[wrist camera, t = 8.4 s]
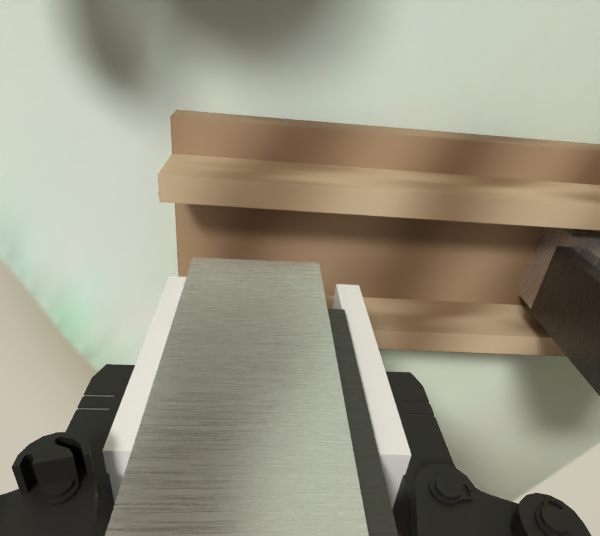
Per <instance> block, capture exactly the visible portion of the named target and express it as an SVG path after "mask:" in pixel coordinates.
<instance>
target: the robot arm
mask: <svg viewBox="0 0 600 536" xmlns="http://www.w3.org/2000/svg"><path fill="white" fill-rule="evenodd" d="M185 280H186V277H178V276H169V278H168V281H167V283H166V286H165V288H164V291H163V294H162V296H161V299H160V302H159V304H158V307H157V309H156V312H155V315H154V317H153V320H152V322H151V325H150V328H149V330H148V333H147V336H146V338H145V341H144V343H143V346H142V349H141V351H140V354H139V357H138V359H137V362H136V364H135V365H112V364H106V365H105V366H104V367H103V368H102V369H101V370H100V371H99V372H98V373H97V374H96V375H94V376H93V377H92V379H91V381H90V383H89V385H88V387H87V389H86V391H85V393H84V397H82V399H81V401H80V403H79V405H78V410H76V412H75V414H74V416H73V418H72V420H71V422H70V424H69V426H68V428H67V430H66V432H60V433H58V432H57V433H54V434H51V435H47V436H43V437H41V438H40V439H38V440H36V441H34V442H33V443H31V444H29V445H28V446H27V447H26V448H25V449H24V450H23V451H22V452H21V453H20V454H19V455H18V456H17V458H16V460H15V462H14V464H13V466H12V469H13V472H14V475H15V477H16V481H17V484H18V487H19V489H17V490H15V491H12V492H9V493H6V494H2V495H0V536H105V533H106V530H107V527H108V524H109V521H110V517H111V514H112V511H113V508H114V505H115V502H116V498H117V495H118V492H119V489H120V486H121V483H122V479H123V476H124V473H125V470H126V467H127V464H128V461H129V457H130V454H131V451H132V448H133V445H134V442H135V438H136V435H137V432H138V429H139V426H140V423H141V419H142V416H143V413H144V410H145V407H146V404H147V400H148V397H149V394H150V391H151V388H152V385H153V381H154V378H155V375H156V372H157V369H158V366H159V362H160V359H161V356H162V353H163V350H164V347H165V343H166V340H167V337H168V334H169V331H170V328H171V325H172V321H173V318H174V315H175V312H176V309H177V306H178V302H179V299H180V296H181V293H182V290H183V287H184V283H185ZM333 309H345V314H346V318H347V322H348V326H349V331H350V335H351V339H352V343H353V347H354V352H355V356H356V360H357V364H358V368H359V373H360V377H361V381H362V385H363V389H364V394H365V398H366V402H367V406H368V410H369V415H370V419H371V423H372V427H373V432H374V436H375V440H376V444H377V448H378V453H379V457H380V461H381V465H382V469H383V474H384V478H385V482H386V486H387V490H388V495H389V499H390V503H391V507H392V511H393V516H394V520H395V524H396V528H397V532H398V536H591V535H590V533H589V531H588V529H587V528H586V526H585V525H584V523H583V522H582V520H581V519H580V518H579V517H578V515H577V514H576V513H575V512H574V511H573V510H572V509H571V508H570V507H568V506H567V505H566V504H564V503H563V502H562V501H560V500H558V499H556V498H554V497H552V496H550V495H545V494H540V493H534V494H529V495H526V496H525V497H524V498H523V499H522V500H521V501H520V503H519V504H517V503H514V502H511V501H508V500H504V499H501V498H498V497H495V496H492V495H489V494H486V493H484V492H482V491H480V490H478V489H477V488H475V486H474V485H473V484H472V482H471V481H470V480H469V479H468V477H467V476H466V475H464V474H463V473H461V472H460V471H459V470H457V469H456V467H455V465H454V463H453V461H452V459H451V456H450V453H449V451H448V448H447V446H446V443H445V441H444V438H443V436H442V433H441V431H440V428H439V426H438V423H437V421H436V418H435V417H434V413H433V410H432V408H431V405H430V404H429V400H428V398H427V395H426V393H425V390H424V388H423V386H422V385H421V383H420V382H419V381H418V380H417V379H416V378H415V377H414V376H413V375H412V374H411V373H409V372H386V371H385V368H384V365H383V362H382V358H381V355H380V352H379V349H378V345H377V342H376V339H375V336H374V332H373V329H372V326H371V323H370V320H369V316H368V313H367V310H366V307H365V303H364V300H363V297H362V294H361V290H360V287H359V285H345V284H336V289H335V296H334V302H333Z"/></svg>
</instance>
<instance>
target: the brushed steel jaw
mask: <svg viewBox="0 0 600 536" xmlns="http://www.w3.org/2000/svg"><path fill="white" fill-rule="evenodd" d="M105 536H398V532H397V528H396V524H395V520H394V516H393V511H392V507H391V503H390V499H389V495H388V490H387V486H386V482H385V478H384V474H383V469H382V465H381V461H380V457H379V453H378V448H377V444H376V440H375V436H374V432H373V427H372V423H371V419H370V415H369V410H368V406H367V402H366V398H365V394H364V389H363V385H362V381H361V377H360V373H359V368H358V364H357V360H356V356H355V352H354V347H353V343H352V339H351V335H350V331H349V326H348V322H347V318H346V314H345V309H327V304H326V298H325V293H324V287H323V282H322V276H321V271H320V265H319V263H315V262H291V261H267V260H243V259H218V258H194V257H193V258H192V261H191V264H190V268H189V271H188V274H187V277H186V280H185V283H184V287H183V290H182V293H181V296H180V299H179V302H178V306H177V309H176V312H175V315H174V318H173V321H172V325H171V328H170V331H169V334H168V337H167V340H166V343H165V347H164V350H163V353H162V356H161V359H160V362H159V366H158V369H157V372H156V375H155V378H154V381H153V385H152V388H151V391H150V394H149V397H148V400H147V404H146V407H145V410H144V413H143V416H142V419H141V423H140V426H139V429H138V432H137V435H136V438H135V442H134V445H133V448H132V451H131V454H130V457H129V461H128V464H127V467H126V470H125V473H124V476H123V479H122V483H121V486H120V489H119V492H118V495H117V498H116V502H115V505H114V508H113V511H112V514H111V517H110V521H109V524H108V527H107V530H106V533H105Z"/></svg>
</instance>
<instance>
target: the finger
mask: <svg viewBox="0 0 600 536" xmlns="http://www.w3.org/2000/svg"><path fill="white" fill-rule="evenodd" d="M519 295H520V297H521V298H522V299H523V300H524V301H525V302H526V304H527V305H528V306H529V307H530V308H531V310H530V312H531V313H532V315H533V316H534V317H535V318H536V320H537V321H538V322H539V323H540V324H541V326H542V327H543V328H544V329H545V330H546V332H547V333H548V334H549V335H550V336H551V338H552V339H553V340H554V341H555V343H556V344H557V345H558V346H559V347H560V349H561V350H562V351H563V352H564V353H565V355H566V356H567V357H568V358H569V359H570V361H571V362H572V363H573V364H574V365H575V367H576V368H577V369H578V370H579V372H580V373H581V374H582V375H583V376H584V378H585V379H586V380H587V381H588V382H589V384H590V385H591V386H592V387H593V388H594V390H595V391H596V392H597V393H598V395H599V396H600V230H586V229H570V228H555V227H545V229H544V231H543V234H542V236H541V239H540V241H539V244H538V246H537V249H536V252H535V254H534V257H533V259H532V262H531V264H530V267H529V269H528V272H527V275H526V277H525V280H524V282H523V285H522V287H521V290H520V292H519Z"/></svg>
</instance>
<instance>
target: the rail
mask: <svg viewBox="0 0 600 536" xmlns="http://www.w3.org/2000/svg"><path fill="white" fill-rule="evenodd" d="M170 119H171V138H172V155H171V156H170V158H169V159H168V161H167V162H166V163H165V165H164V166H163V168H162V169H161V171H160V172H159V173H158V184H159V199H160V202H168V203H175V216H176V235H177V255H178V274H179V277H187V274H188V271H189V268H190V264H191V261H192V258H193V257H194V258H218V259H243V260H267V261H291V262H315V263H319V265H320V271H321V276H322V282H323V287H324V293H325V298H326V304H327V309H333V302H334V296H335V289H336V284H345V285H359V287H360V290H361V294H362V297H363V300H364V303H365V307H366V310H367V313H368V316H369V320H370V323H371V326H372V329H373V332H374V336H375V339H376V342H377V345H378V349H398V350H423V351H448V352H473V353H498V354H523V355H548V356H566V355H565V353H564V352H563V351H562V350H561V349H560V347H559V346H558V345H557V344H556V343H555V341H554V340H553V339H552V338H551V336H550V335H549V334H548V333H547V332H546V330H545V329H544V328H543V327H542V326H541V324H540V323H539V322H538V321H537V320H536V318H535V317H534V316H533V315H532V313H531V312H530V310H531V308H530V307H529V306H528V305H527V304H526V302H525V301H524V300H523V299H522V298H521V297H520V295H519V292H520V290H521V287H522V285H523V282H524V280H525V277H526V275H527V272H528V269H529V267H530V264H531V262H532V259H533V257H534V254H535V252H536V249H537V246H538V244H539V241H540V239H541V236H542V234H543V231H544V229H545V227H555V228H570V229H586V230H600V145H598V144H586V143H574V142H562V141H549V140H537V139H525V138H513V137H500V136H488V135H476V134H463V133H451V132H439V131H427V130H414V129H402V128H390V127H378V126H365V125H353V124H341V123H328V122H316V121H304V120H292V119H279V118H267V117H255V116H243V115H230V114H218V113H206V112H193V111H181V110H176V111H175V112H174V113H173V114H172V115H171V116H170Z"/></svg>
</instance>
